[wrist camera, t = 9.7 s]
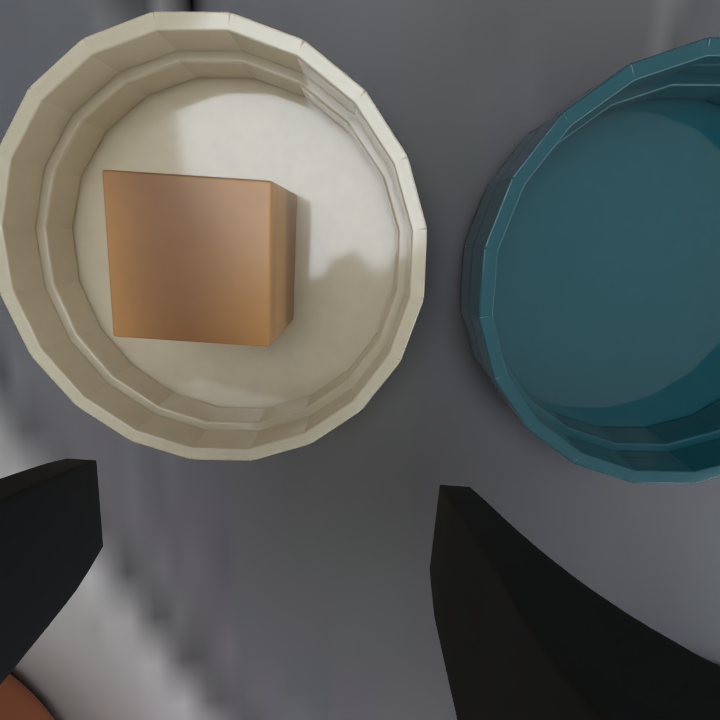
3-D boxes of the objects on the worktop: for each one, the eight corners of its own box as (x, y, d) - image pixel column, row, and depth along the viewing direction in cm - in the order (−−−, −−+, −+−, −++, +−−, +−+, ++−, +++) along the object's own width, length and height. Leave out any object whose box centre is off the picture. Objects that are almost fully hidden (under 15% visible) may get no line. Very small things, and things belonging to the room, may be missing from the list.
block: (297, 194, 17) (272, 180, 12) (293, 320, 18) (269, 347, 13) (170, 185, 17) (100, 169, 12) (174, 312, 18) (112, 337, 13)
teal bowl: (896, 156, 16) (1034, 136, 13) (707, 479, 20) (778, 531, 16) (547, 19, 15) (597, -40, 12) (409, 380, 19) (418, 413, 15)
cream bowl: (469, 135, 16) (494, 110, 13) (350, 461, 20) (346, 508, 16) (98, -1, 16) (23, -67, 12) (37, 361, 19) (-36, 389, 15)
